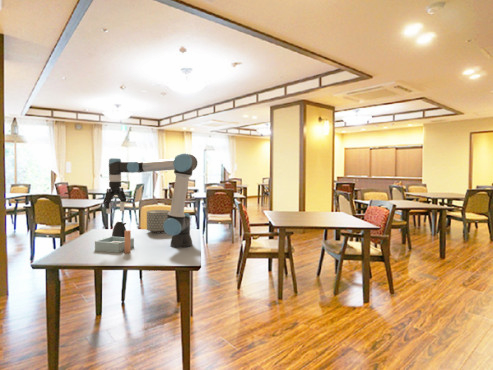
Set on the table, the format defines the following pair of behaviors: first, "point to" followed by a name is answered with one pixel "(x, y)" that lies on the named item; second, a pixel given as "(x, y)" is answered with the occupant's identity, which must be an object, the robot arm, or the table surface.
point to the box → (112, 244)
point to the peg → (128, 241)
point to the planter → (156, 220)
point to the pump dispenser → (119, 229)
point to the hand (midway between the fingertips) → (115, 212)
